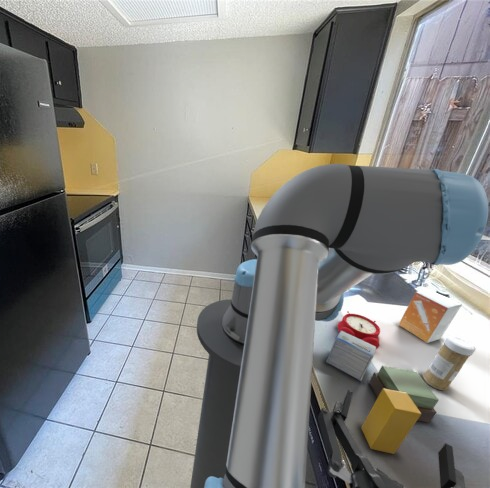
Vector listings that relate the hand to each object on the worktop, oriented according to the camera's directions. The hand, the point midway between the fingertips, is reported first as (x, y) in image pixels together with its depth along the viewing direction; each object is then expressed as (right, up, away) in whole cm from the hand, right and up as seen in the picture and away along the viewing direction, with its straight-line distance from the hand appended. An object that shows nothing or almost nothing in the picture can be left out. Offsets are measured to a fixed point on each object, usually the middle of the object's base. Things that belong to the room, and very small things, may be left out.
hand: (392, 420), depth 46 cm
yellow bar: (+1, -7, +5) cm, 9 cm away
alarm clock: (+16, +4, +31) cm, 35 cm away
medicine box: (+6, 0, +21) cm, 21 cm away
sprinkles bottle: (+26, -3, +17) cm, 31 cm away
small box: (+38, +4, +34) cm, 51 cm away
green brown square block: (+12, -4, +12) cm, 18 cm away
